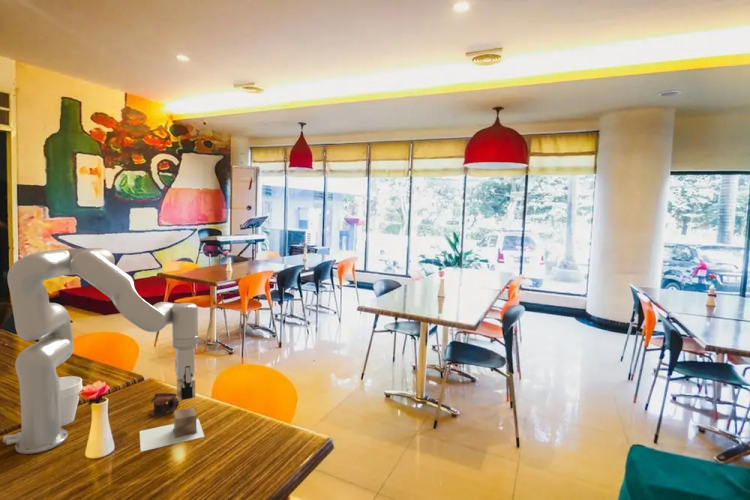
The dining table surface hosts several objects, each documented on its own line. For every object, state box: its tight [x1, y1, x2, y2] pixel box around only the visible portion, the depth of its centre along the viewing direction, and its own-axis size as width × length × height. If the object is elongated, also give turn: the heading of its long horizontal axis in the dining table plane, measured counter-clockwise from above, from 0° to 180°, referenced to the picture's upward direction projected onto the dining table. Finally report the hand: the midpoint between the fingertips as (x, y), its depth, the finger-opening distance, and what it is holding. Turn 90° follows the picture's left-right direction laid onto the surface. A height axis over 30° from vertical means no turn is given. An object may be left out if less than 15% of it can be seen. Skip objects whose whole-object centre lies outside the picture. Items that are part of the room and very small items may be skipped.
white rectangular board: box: [139, 418, 205, 452], centre depth 132 cm, size 18×13×1 cm
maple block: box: [176, 376, 196, 402], centre depth 133 cm, size 5×5×6 cm
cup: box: [59, 375, 84, 427], centre depth 137 cm, size 12×12×14 cm
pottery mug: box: [149, 392, 180, 417], centre depth 147 cm, size 12×10×8 cm
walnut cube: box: [173, 407, 197, 437], centre depth 134 cm, size 6×6×6 cm
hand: (185, 394), depth 133 cm, fingers closed on maple block, 5 cm apart
